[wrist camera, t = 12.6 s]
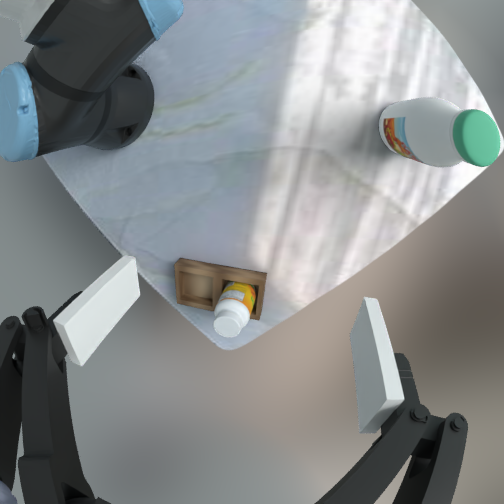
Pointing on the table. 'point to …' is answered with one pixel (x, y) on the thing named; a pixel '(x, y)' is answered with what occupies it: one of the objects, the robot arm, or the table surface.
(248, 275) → the compartment tray
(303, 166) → the table surface
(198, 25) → the table surface
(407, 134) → the milk bottle
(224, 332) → the supplement bottle
